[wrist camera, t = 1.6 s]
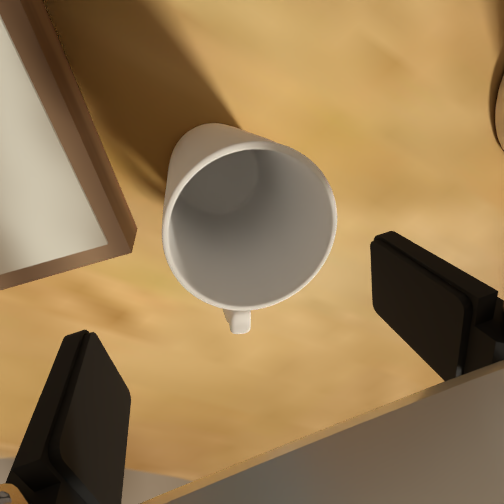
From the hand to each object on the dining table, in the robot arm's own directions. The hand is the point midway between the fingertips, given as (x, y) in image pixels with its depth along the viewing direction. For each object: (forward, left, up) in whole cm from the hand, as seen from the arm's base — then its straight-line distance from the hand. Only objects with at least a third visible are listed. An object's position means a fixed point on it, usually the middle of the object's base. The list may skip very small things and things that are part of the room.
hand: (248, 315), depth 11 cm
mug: (-1, 0, -15) cm, 15 cm away
